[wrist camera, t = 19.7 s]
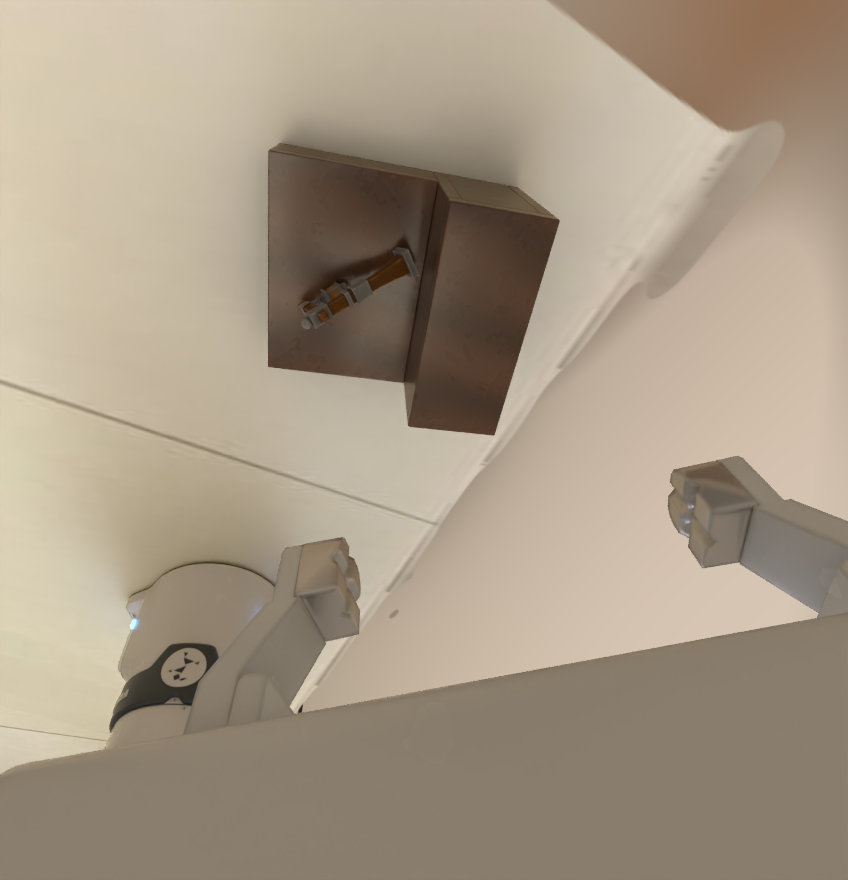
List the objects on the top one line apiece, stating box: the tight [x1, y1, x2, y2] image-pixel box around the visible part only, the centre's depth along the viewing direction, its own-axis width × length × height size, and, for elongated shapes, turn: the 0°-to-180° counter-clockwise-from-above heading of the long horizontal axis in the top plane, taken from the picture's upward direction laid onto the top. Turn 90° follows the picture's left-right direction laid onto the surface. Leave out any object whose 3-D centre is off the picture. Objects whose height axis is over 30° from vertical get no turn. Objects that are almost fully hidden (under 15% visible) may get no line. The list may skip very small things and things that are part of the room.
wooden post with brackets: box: [297, 247, 419, 329], centre depth 33 cm, size 2×8×4 cm, turn 112°
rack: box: [268, 143, 560, 435], centre depth 34 cm, size 14×16×10 cm
